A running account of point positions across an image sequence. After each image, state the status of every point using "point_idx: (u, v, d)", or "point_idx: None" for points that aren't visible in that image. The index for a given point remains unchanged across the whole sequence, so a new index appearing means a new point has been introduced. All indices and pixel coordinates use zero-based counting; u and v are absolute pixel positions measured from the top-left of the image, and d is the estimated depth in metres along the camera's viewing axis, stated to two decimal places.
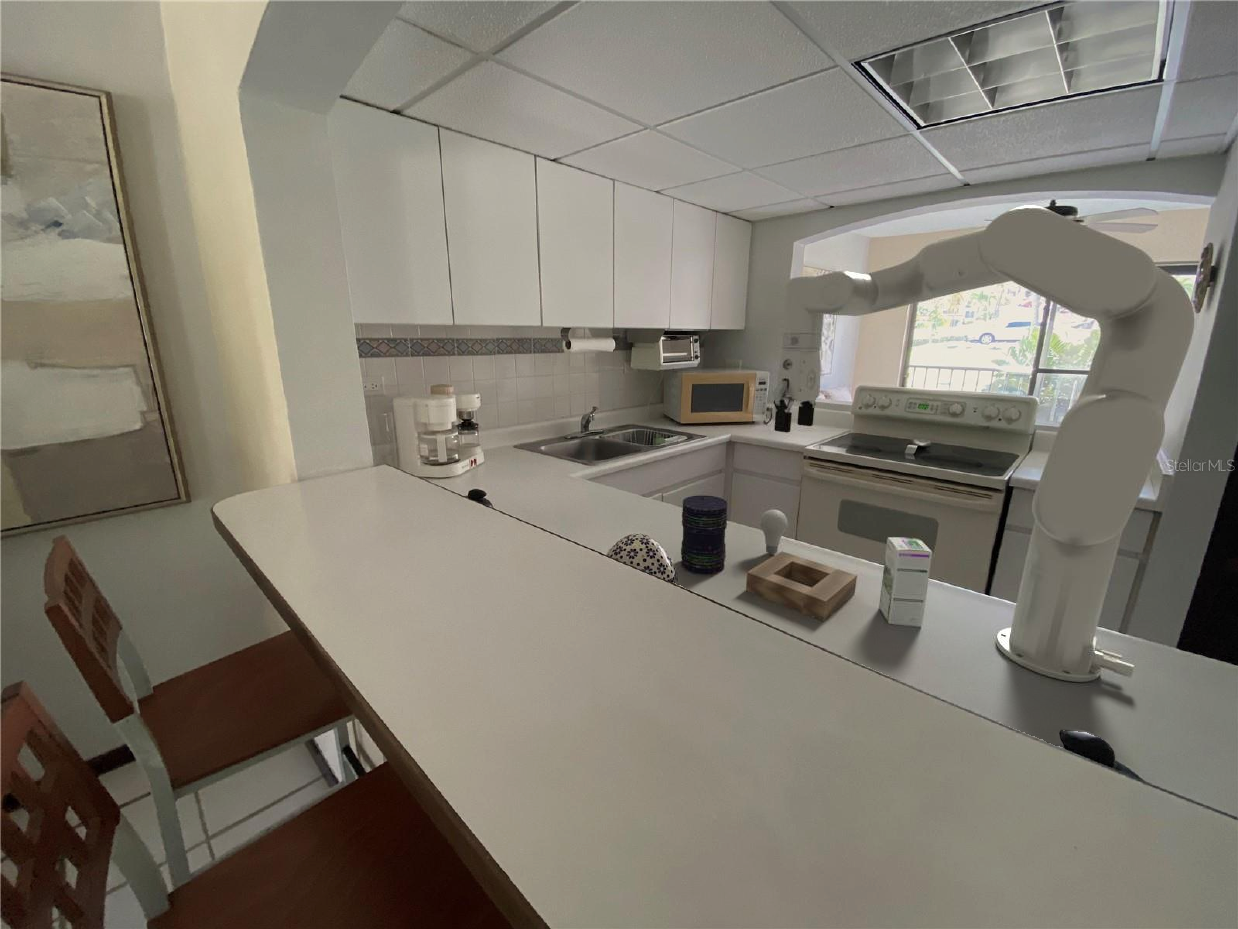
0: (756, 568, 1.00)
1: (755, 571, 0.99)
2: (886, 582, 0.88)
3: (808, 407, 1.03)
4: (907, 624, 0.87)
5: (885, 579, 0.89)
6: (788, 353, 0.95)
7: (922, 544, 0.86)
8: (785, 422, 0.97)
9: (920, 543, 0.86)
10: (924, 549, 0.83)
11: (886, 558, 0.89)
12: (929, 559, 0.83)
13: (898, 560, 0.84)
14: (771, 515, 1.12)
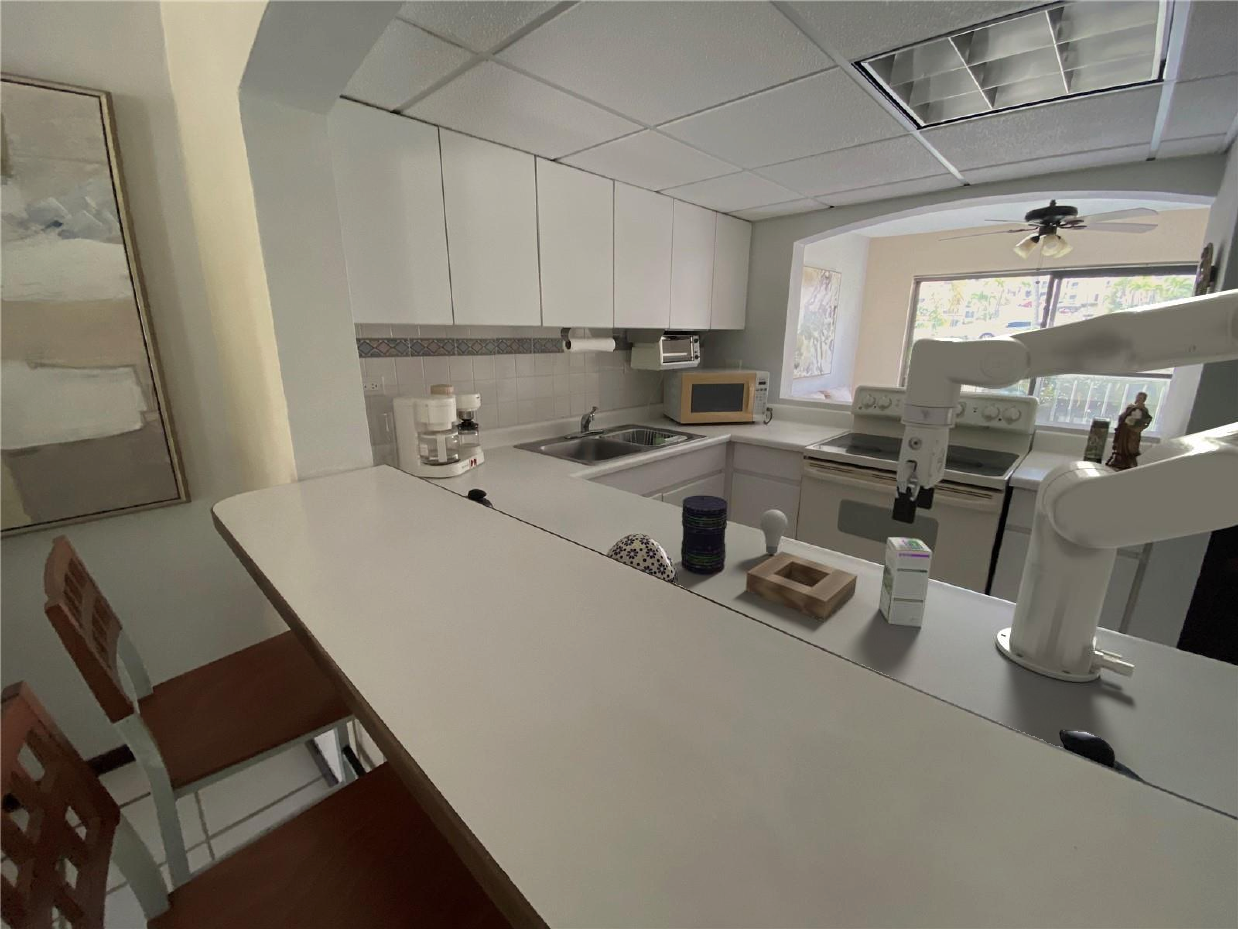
0: (756, 568, 1.00)
1: (755, 571, 0.99)
2: (886, 582, 0.88)
3: (927, 487, 0.86)
4: (907, 624, 0.87)
5: (885, 579, 0.89)
6: (917, 429, 0.78)
7: (922, 544, 0.86)
8: (909, 512, 0.80)
9: (920, 543, 0.86)
10: (924, 549, 0.83)
11: (886, 558, 0.89)
12: (929, 559, 0.83)
13: (898, 560, 0.84)
14: (771, 515, 1.12)
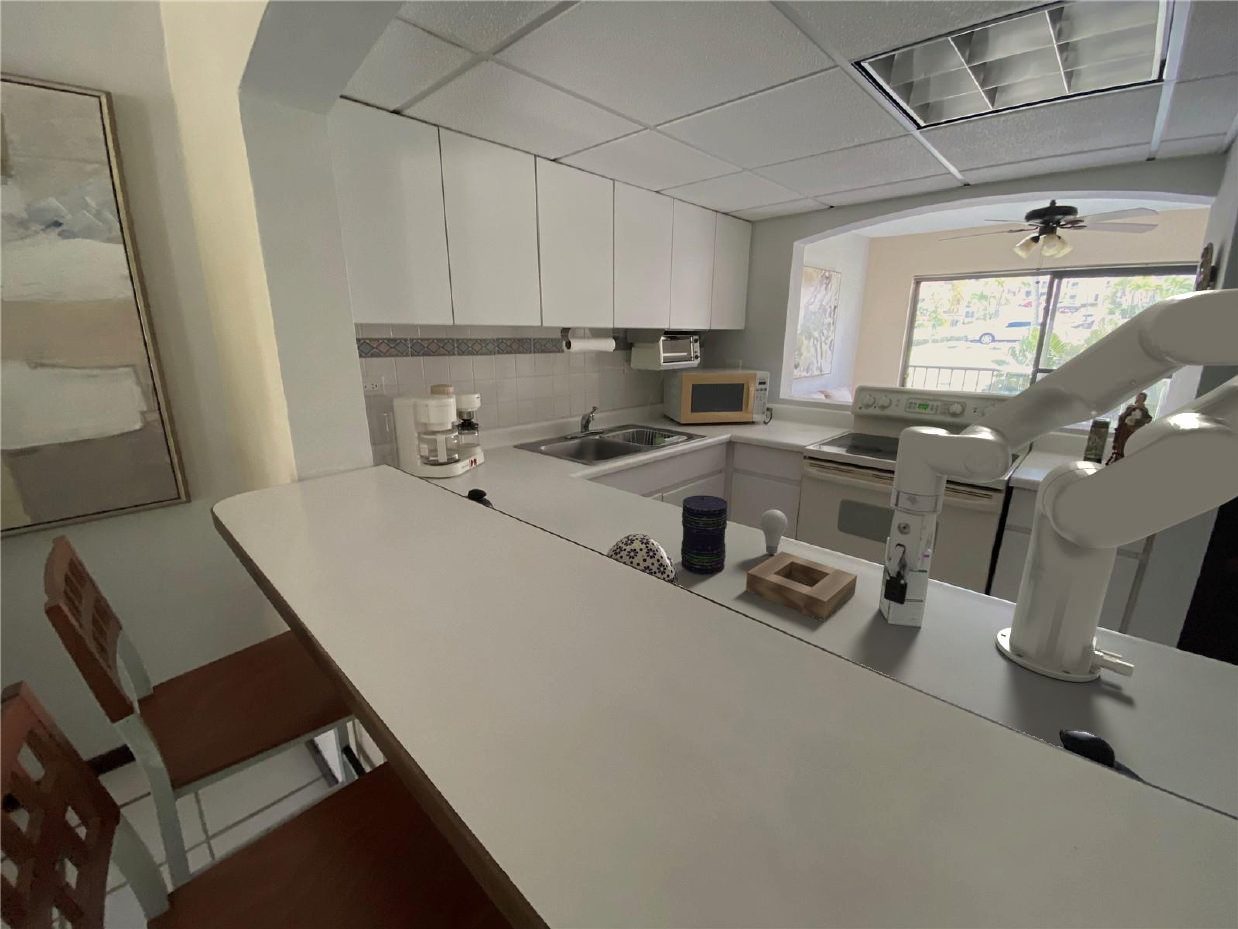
0: (756, 568, 1.00)
1: (755, 571, 0.99)
2: None
3: None
4: (907, 624, 0.87)
5: (885, 579, 0.89)
6: (905, 515, 0.82)
7: None
8: (899, 593, 0.84)
9: None
10: None
11: (886, 558, 0.89)
12: (929, 559, 0.83)
13: None
14: (771, 515, 1.12)
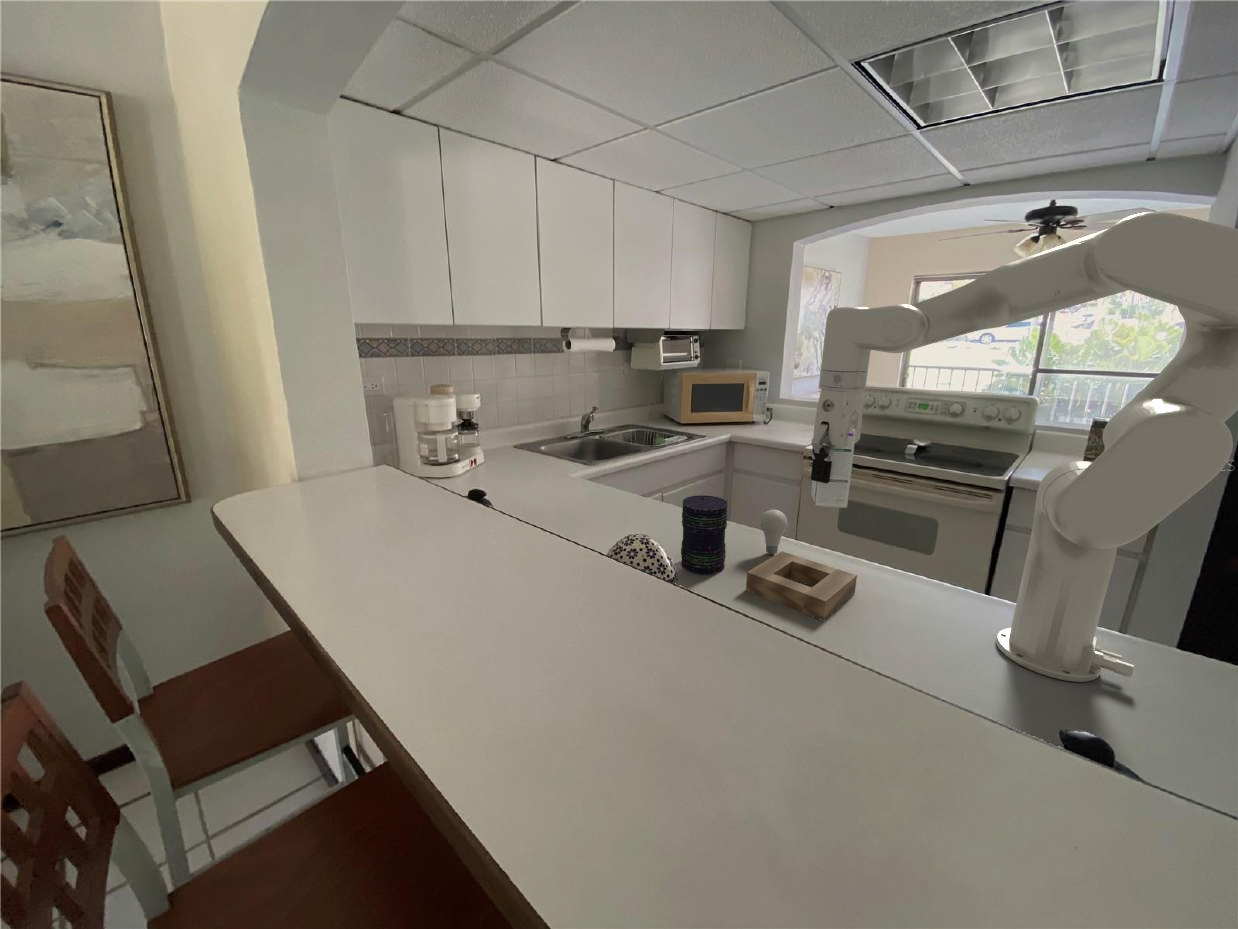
0: (756, 568, 1.00)
1: (755, 571, 0.99)
2: None
3: None
4: (833, 505, 0.89)
5: None
6: (829, 392, 0.84)
7: None
8: (824, 472, 0.86)
9: None
10: None
11: None
12: (853, 438, 0.85)
13: None
14: (771, 515, 1.12)
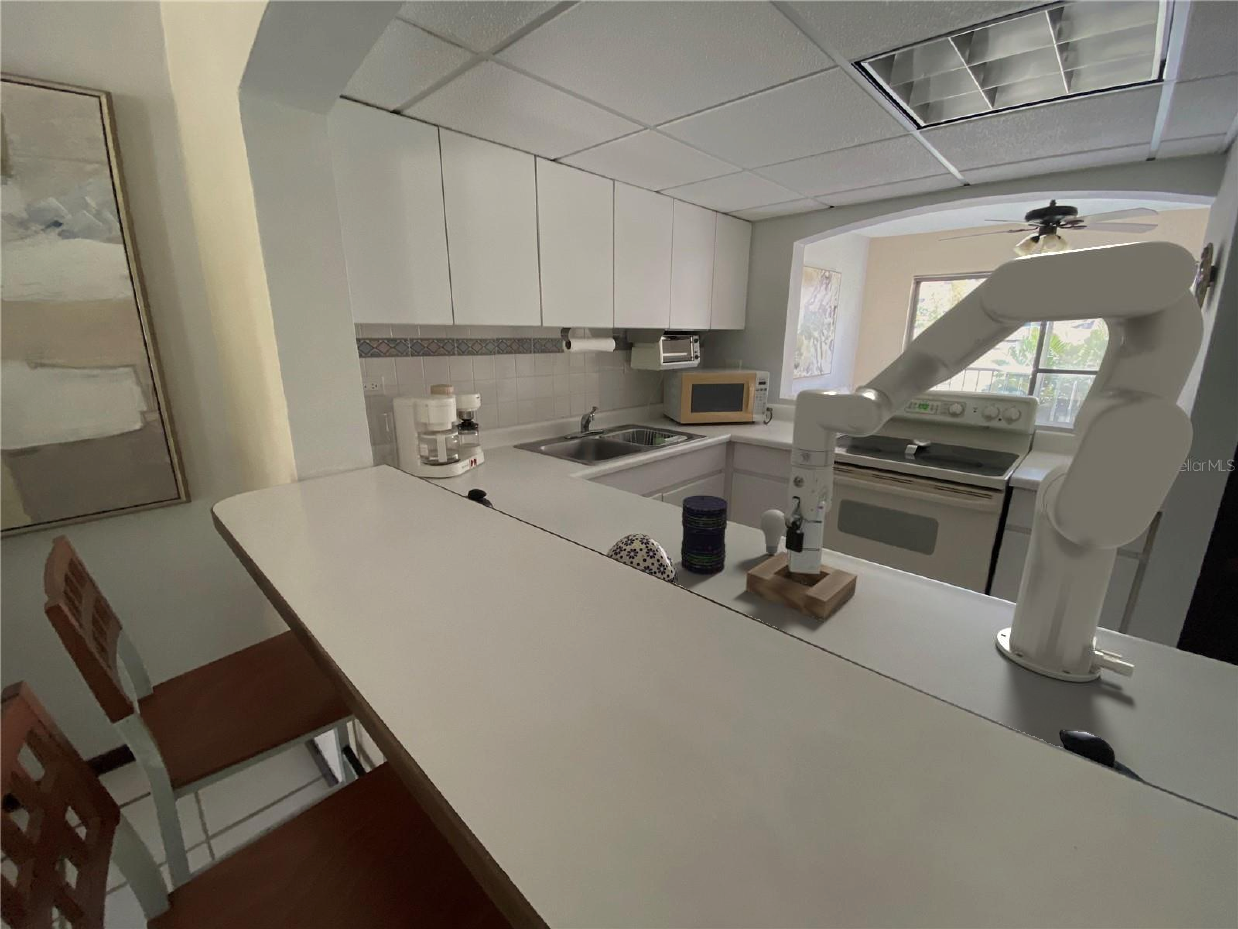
0: (756, 568, 1.00)
1: (755, 571, 0.99)
2: None
3: None
4: (806, 572, 0.94)
5: None
6: (799, 469, 0.89)
7: None
8: (797, 542, 0.92)
9: None
10: None
11: None
12: (823, 510, 0.91)
13: None
14: (771, 515, 1.12)
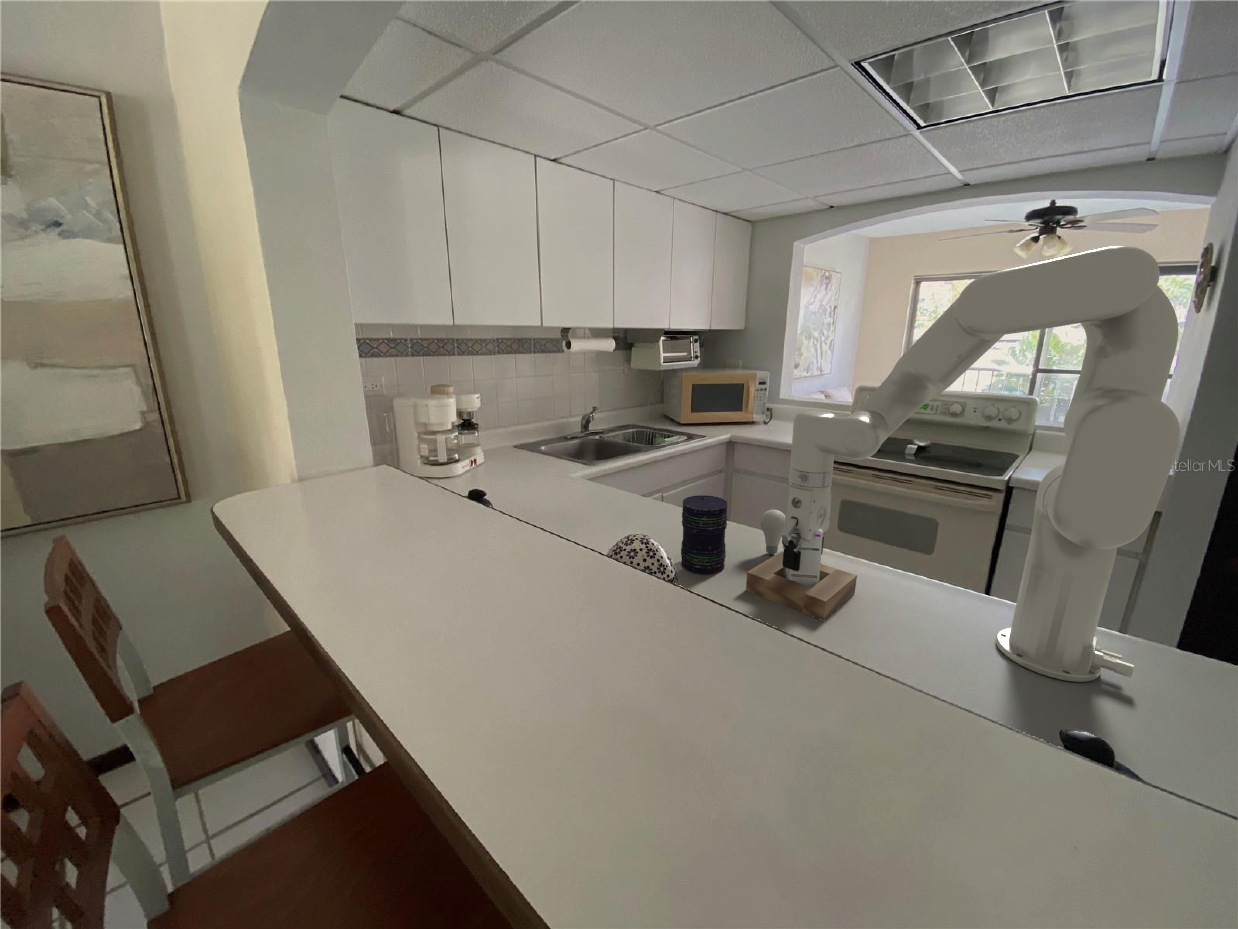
0: (756, 568, 1.00)
1: (755, 571, 0.99)
2: None
3: None
4: None
5: None
6: (797, 490, 0.90)
7: None
8: (794, 561, 0.92)
9: None
10: None
11: None
12: (820, 538, 0.92)
13: (793, 539, 0.93)
14: (771, 515, 1.12)
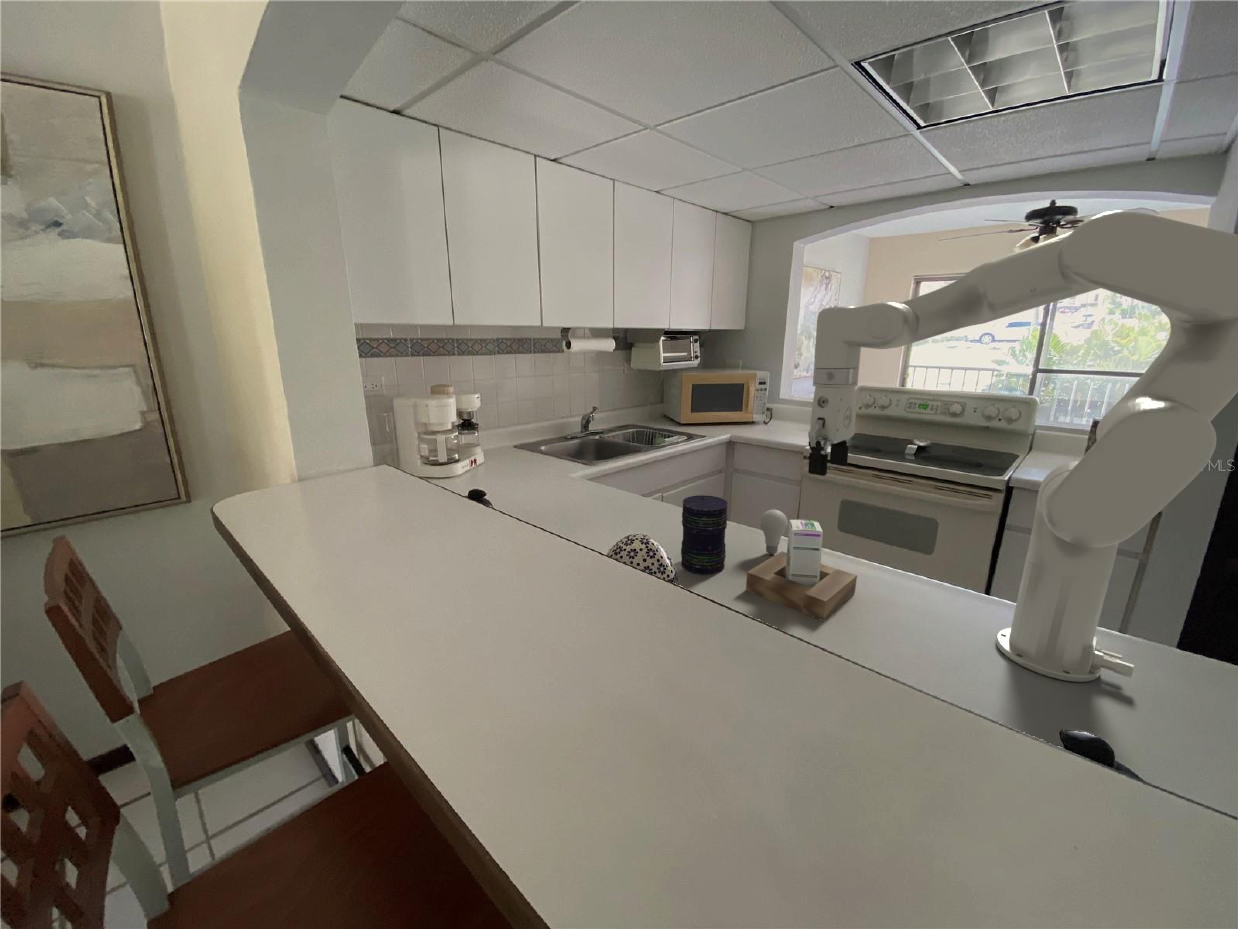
0: (756, 568, 1.00)
1: (755, 571, 0.99)
2: (787, 560, 0.97)
3: (842, 445, 0.95)
4: None
5: (787, 557, 0.98)
6: (823, 389, 0.87)
7: (817, 525, 0.95)
8: (821, 465, 0.89)
9: (816, 524, 0.95)
10: (815, 529, 0.92)
11: (788, 538, 0.98)
12: (820, 538, 0.92)
13: (793, 539, 0.93)
14: (771, 515, 1.12)
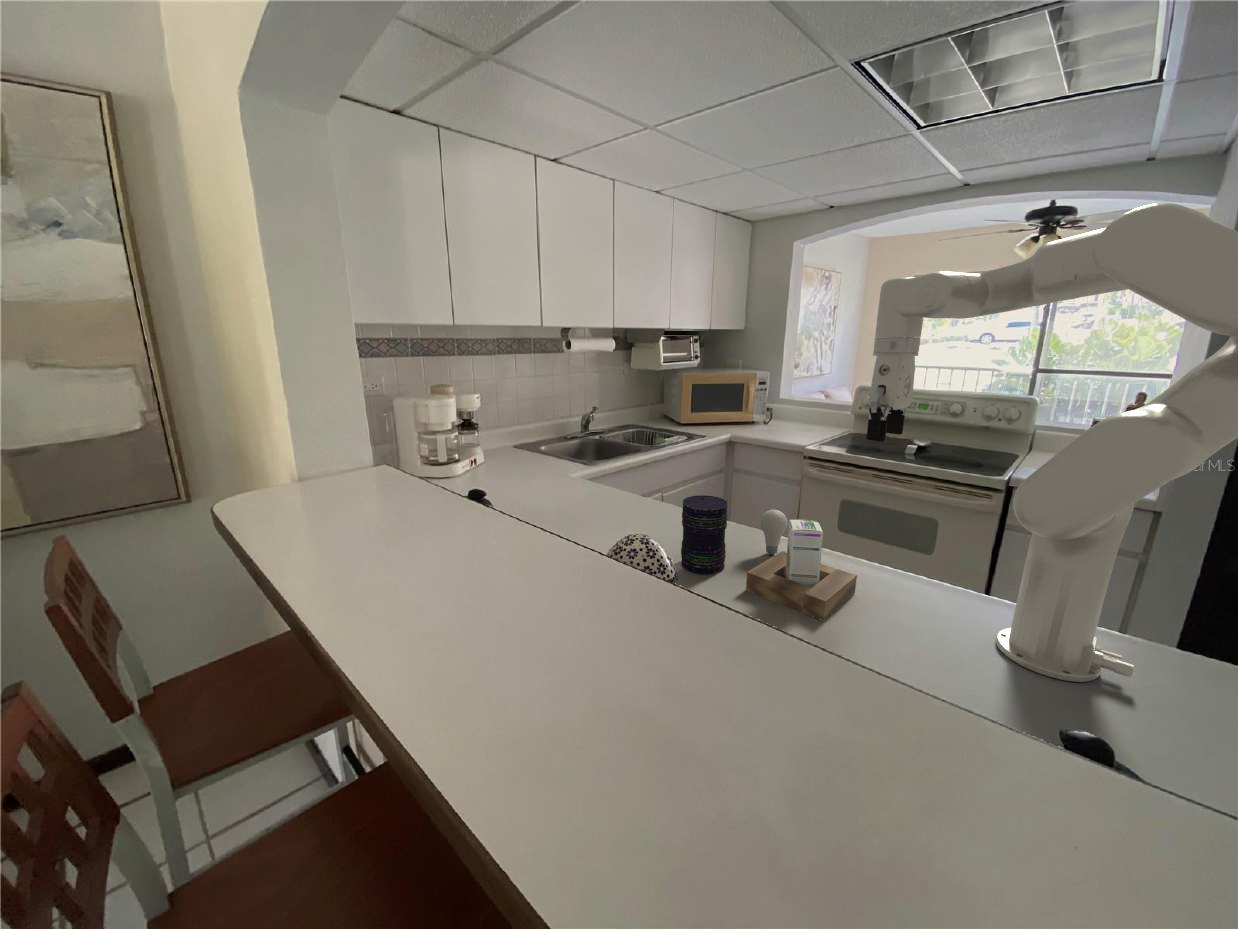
0: (756, 568, 1.00)
1: (755, 571, 0.99)
2: (787, 560, 0.97)
3: (898, 414, 0.99)
4: None
5: (787, 557, 0.98)
6: (885, 358, 0.90)
7: (817, 525, 0.95)
8: (880, 431, 0.92)
9: (816, 524, 0.95)
10: (815, 529, 0.92)
11: (788, 538, 0.98)
12: (820, 538, 0.92)
13: (793, 539, 0.93)
14: (771, 515, 1.12)
